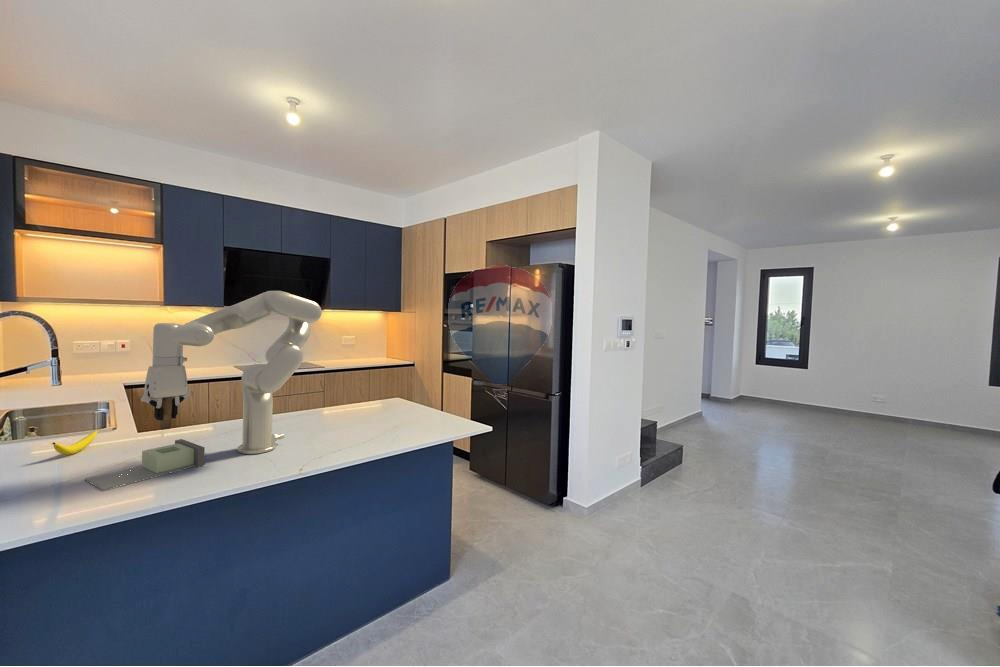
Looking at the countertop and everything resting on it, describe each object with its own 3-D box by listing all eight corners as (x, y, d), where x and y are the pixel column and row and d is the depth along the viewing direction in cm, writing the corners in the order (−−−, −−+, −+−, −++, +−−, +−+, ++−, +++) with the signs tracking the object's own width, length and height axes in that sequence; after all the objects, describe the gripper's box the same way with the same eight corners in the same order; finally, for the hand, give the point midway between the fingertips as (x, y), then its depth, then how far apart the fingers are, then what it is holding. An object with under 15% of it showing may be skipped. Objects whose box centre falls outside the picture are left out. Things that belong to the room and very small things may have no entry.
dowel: (168, 426, 136) (169, 396, 135) (173, 428, 134) (174, 397, 134) (157, 428, 133) (158, 397, 133) (162, 430, 132) (163, 398, 131)
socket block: (178, 457, 142) (178, 443, 141) (193, 463, 137) (193, 448, 136) (142, 466, 133) (142, 450, 133) (156, 473, 128) (157, 457, 128)
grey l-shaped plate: (181, 455, 145) (181, 438, 144) (204, 465, 137) (204, 447, 137) (83, 479, 123) (83, 459, 122) (104, 491, 115) (104, 470, 115)
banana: (102, 443, 153) (102, 426, 153) (58, 462, 135) (58, 442, 134) (93, 443, 153) (93, 426, 152) (47, 462, 134) (47, 442, 134)
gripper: (190, 359, 142) (188, 412, 142) (130, 362, 128) (128, 421, 128) (202, 361, 138) (200, 416, 139) (141, 364, 124) (139, 425, 125)
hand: (165, 418), depth 133 cm, fingers closed on dowel, 3 cm apart
